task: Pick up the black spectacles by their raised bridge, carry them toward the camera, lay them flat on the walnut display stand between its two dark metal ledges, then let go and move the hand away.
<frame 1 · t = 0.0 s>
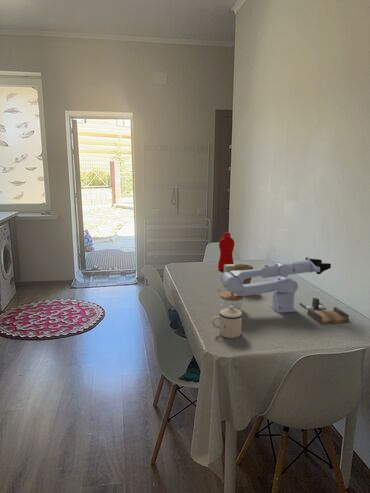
hand: (325, 263, 176), 22 cm above the table, tool horizontal, fingers open, 7 cm apart
spectacles: (315, 308, 178), on the table
brown boot: (240, 291, 203), on the table
display stand: (327, 318, 166), on the table
lidded jar: (231, 310, 174), on the table, touching arm
skincare box: (229, 285, 212), on the table
teacup with lid: (226, 334, 149), on the table
red bottle: (226, 269, 246), on the table
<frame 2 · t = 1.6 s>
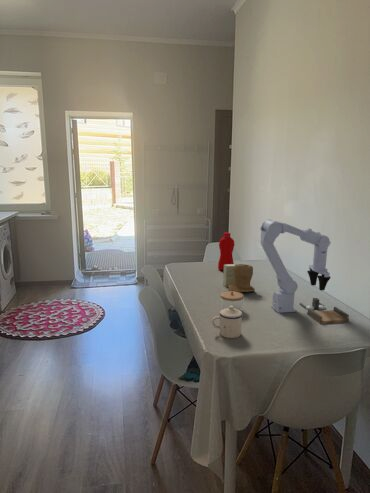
hand: (317, 287, 176), 10 cm above the table, tool pointing down, fingers open, 7 cm apart
lidded jar: (231, 310, 174), on the table
everything else where it was.
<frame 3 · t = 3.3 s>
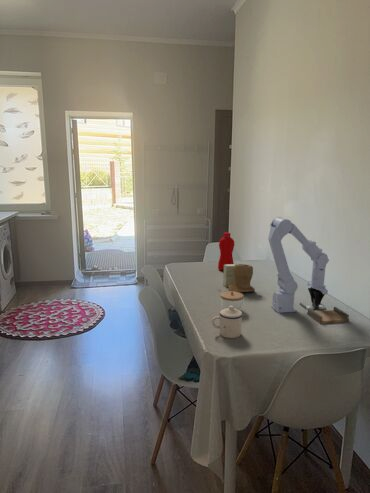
hand: (315, 303, 178), 2 cm above the table, tool pointing down, fingers closed on spectacles, 3 cm apart
spectacles: (315, 308, 178), on the table, touching gripper
everything else where it was.
when the fingers open (4 cm above the table, at t = 7.6 s): spectacles stays where it is, resting on display stand.
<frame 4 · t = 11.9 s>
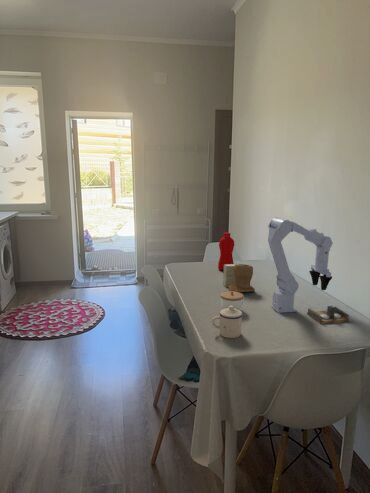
hand: (319, 287, 180), 9 cm above the table, tool pointing down, fingers open, 7 cm apart
spectacles: (330, 317, 164), point 1 cm above the table, touching display stand
everything else where it was.
at the end: spectacles 0.0 cm from the target spot on the display stand, point 1.2 cm above the display stand's base; spectacles tilted 0°; the gripper is holding nothing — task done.
